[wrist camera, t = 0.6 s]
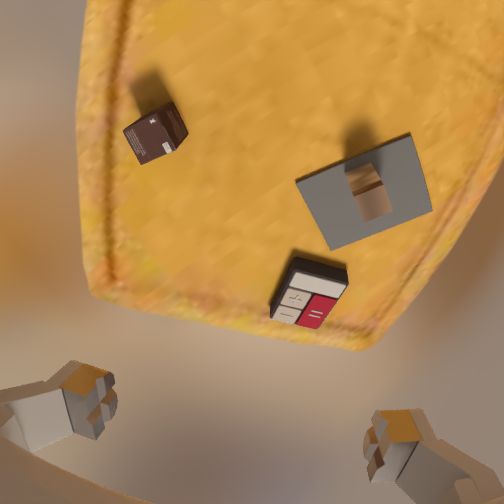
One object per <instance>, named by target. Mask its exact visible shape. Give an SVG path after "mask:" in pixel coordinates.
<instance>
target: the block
mask: <svg viewBox="0 0 504 504" xmlns="http://www.w3.org/2000/svg"><path fill="white" fill-rule="evenodd" d="M345 175H346V178H347V180H348V183H349V186H350V188H351V191H352V194H353V196H354V199H355V201H356V203H357V206H358V208H359V211H360V213H361V215H362V218H363V220H364V223H365V222H367V221H370V220H372V219H375V218H377V217H380V216H382V215H385V214H387V213H390V212H392V211H393V209H392V206H391V203H390V200H389V198H388V195H387V192H386V189H385V186H384V184H383V182H382V181H381V179H380V177H379V175H378V174H377V172H376V170H375V169H374V167H373V165H372V164H371V162H370V163H367V164H365V165H362V166H360V167H358V168H355V169H353V170H350V171H348V172H346V173H345Z"/></svg>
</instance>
